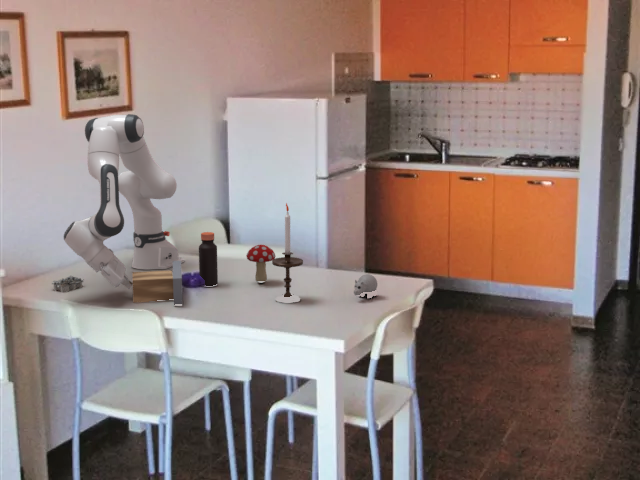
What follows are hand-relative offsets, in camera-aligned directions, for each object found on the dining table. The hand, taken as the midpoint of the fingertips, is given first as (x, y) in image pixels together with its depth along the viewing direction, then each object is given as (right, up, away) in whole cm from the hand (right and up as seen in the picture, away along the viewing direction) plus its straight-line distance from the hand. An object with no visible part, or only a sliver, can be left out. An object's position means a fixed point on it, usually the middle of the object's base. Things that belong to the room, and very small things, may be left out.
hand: (130, 286), depth 318 cm
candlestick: (+56, -5, 0) cm, 56 cm away
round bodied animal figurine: (+83, -5, +2) cm, 83 cm away
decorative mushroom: (+45, 0, +22) cm, 50 cm away
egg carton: (-26, -2, +14) cm, 30 cm away
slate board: (+16, -4, +4) cm, 17 cm away
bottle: (+25, -1, +18) cm, 31 cm away
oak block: (+7, -4, +3) cm, 9 cm away
